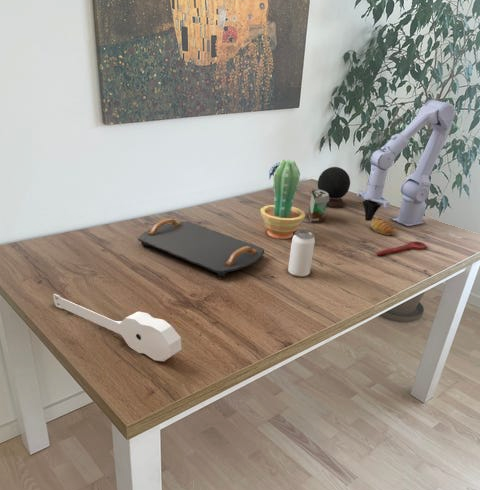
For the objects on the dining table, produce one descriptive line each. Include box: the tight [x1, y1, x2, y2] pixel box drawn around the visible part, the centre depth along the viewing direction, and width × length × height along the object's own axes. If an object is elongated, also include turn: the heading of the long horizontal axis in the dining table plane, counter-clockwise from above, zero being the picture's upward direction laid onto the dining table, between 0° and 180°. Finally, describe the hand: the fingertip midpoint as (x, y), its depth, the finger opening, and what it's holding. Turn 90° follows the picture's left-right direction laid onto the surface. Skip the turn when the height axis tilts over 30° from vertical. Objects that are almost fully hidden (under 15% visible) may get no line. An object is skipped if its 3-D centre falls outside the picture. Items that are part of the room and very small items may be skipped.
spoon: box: [376, 241, 427, 257], centre depth 162 cm, size 23×5×2 cm, turn 122°
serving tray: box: [137, 218, 265, 280], centre depth 148 cm, size 39×23×6 cm, turn 53°
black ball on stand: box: [317, 166, 351, 209], centre depth 198 cm, size 13×13×15 cm
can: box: [287, 230, 316, 278], centre depth 139 cm, size 6×6×12 cm
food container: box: [308, 187, 329, 224], centre depth 181 cm, size 12×6×10 cm, turn 179°
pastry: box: [370, 217, 395, 236], centre depth 176 cm, size 9×7×4 cm
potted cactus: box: [260, 159, 306, 240], centre depth 161 cm, size 15×15×25 cm
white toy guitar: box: [52, 293, 183, 362], centre depth 107 cm, size 38×8×4 cm
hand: (368, 220), depth 182 cm, fingers closed
